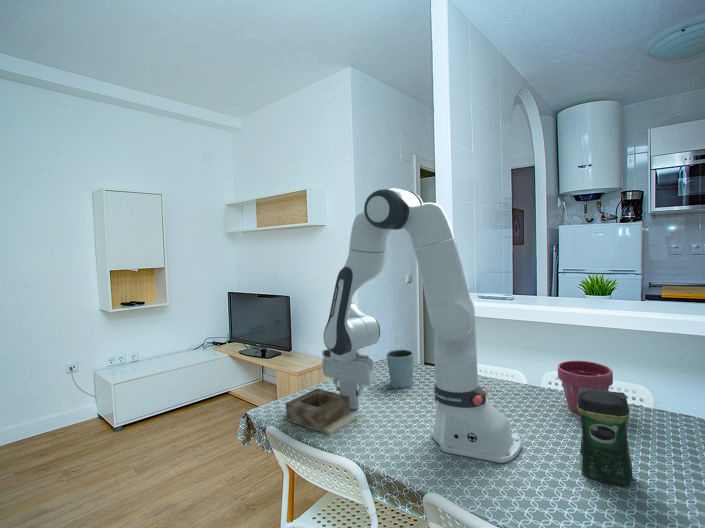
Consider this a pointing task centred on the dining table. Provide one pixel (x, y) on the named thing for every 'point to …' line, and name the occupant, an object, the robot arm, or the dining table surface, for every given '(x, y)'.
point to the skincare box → (349, 390)
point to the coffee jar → (604, 436)
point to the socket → (320, 411)
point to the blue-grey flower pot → (400, 368)
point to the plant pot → (583, 379)
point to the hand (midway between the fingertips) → (349, 393)
